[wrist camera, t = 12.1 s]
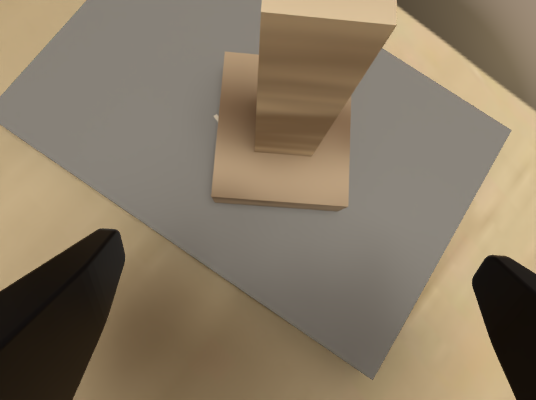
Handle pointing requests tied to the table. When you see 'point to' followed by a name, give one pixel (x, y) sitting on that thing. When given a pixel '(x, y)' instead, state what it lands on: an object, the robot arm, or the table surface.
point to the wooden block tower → (296, 103)
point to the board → (250, 216)
